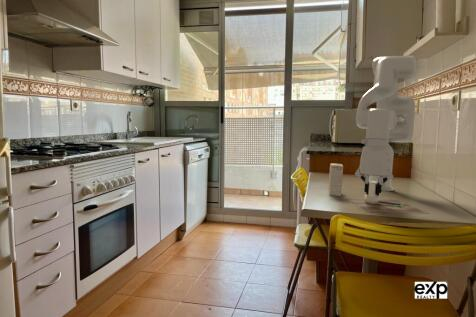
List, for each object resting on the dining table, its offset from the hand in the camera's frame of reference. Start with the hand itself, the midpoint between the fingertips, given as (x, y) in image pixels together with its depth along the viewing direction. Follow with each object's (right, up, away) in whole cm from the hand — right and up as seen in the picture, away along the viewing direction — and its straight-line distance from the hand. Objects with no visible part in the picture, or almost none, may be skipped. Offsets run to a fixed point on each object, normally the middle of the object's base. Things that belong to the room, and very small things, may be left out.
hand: (372, 194), depth 130 cm
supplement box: (-10, -3, +16) cm, 19 cm away
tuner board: (+3, -5, -1) cm, 6 cm away
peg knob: (+3, -3, -1) cm, 5 cm away
